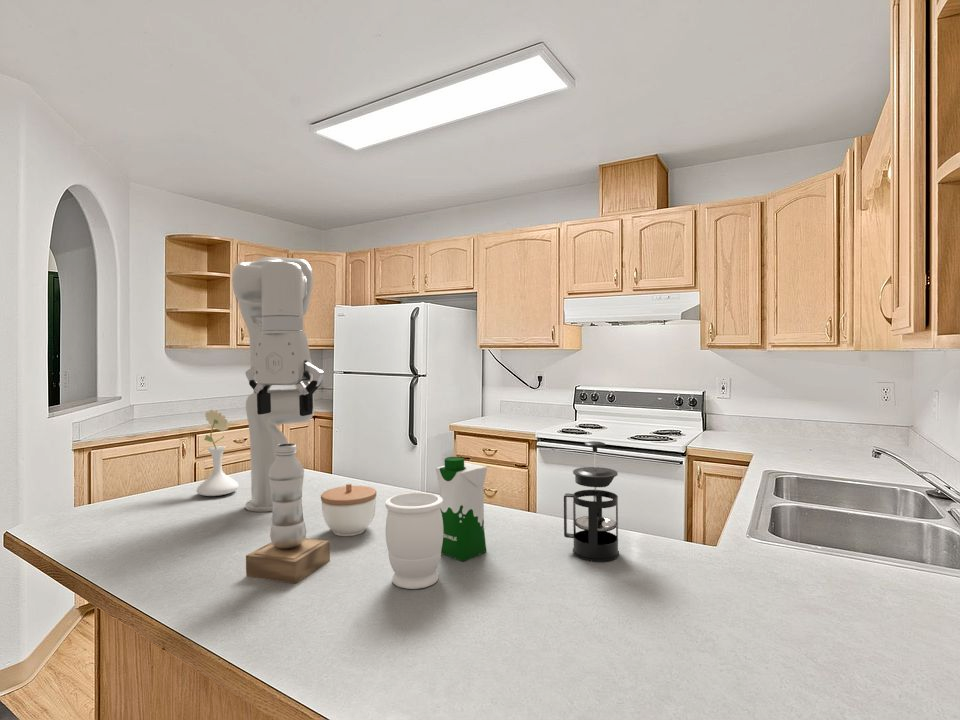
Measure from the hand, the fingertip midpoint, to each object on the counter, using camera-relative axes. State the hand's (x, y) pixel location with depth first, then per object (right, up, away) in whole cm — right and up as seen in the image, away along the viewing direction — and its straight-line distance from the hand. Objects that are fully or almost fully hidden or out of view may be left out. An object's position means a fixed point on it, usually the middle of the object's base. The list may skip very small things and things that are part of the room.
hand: (284, 414), depth 105 cm
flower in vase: (-40, -29, +56) cm, 75 cm away
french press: (+61, -29, +6) cm, 68 cm away
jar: (+26, -30, -6) cm, 40 cm away
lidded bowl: (+7, -30, +21) cm, 37 cm away
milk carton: (+34, -30, +7) cm, 46 cm away
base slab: (+1, -30, 0) cm, 30 cm away
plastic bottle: (0, -26, +1) cm, 26 cm away
